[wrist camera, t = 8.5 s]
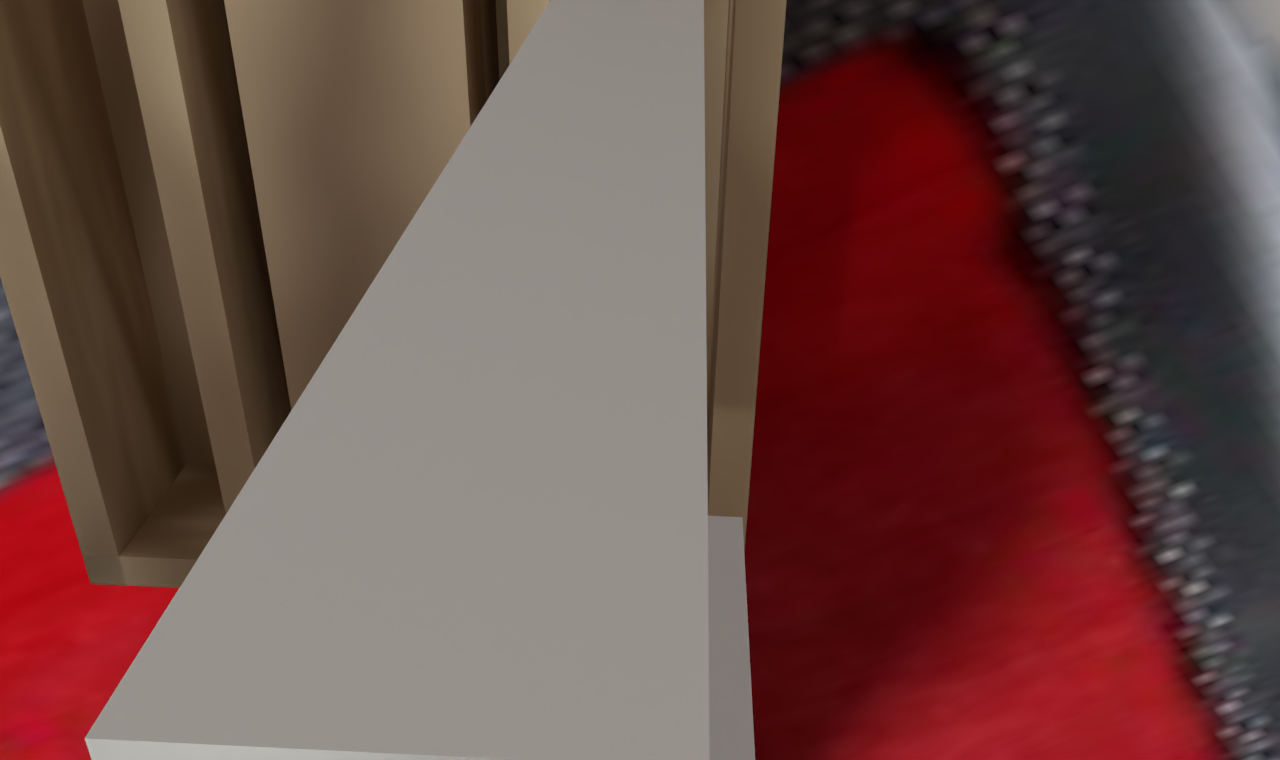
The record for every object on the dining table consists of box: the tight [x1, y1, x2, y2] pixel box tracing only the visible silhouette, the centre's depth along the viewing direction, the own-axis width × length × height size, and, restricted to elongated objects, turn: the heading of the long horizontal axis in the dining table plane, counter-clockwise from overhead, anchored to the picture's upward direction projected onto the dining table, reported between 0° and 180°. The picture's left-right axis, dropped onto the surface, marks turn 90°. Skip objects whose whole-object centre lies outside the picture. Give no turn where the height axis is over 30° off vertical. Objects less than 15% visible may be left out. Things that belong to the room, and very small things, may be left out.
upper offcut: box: [224, 0, 486, 410], centre depth 26 cm, size 5×14×2 cm, turn 179°
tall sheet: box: [85, 0, 710, 760], centre depth 14 cm, size 2×14×16 cm, turn 179°
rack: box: [0, 0, 787, 588], centre depth 28 cm, size 18×20×6 cm
